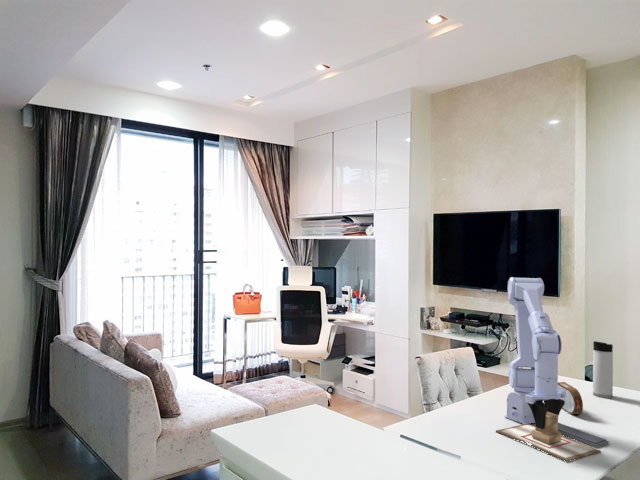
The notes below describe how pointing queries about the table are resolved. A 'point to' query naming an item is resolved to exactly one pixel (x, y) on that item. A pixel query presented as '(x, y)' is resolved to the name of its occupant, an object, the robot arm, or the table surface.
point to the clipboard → (560, 450)
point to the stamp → (548, 430)
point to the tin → (571, 399)
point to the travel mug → (602, 369)
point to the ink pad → (581, 436)
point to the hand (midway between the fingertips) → (545, 426)
